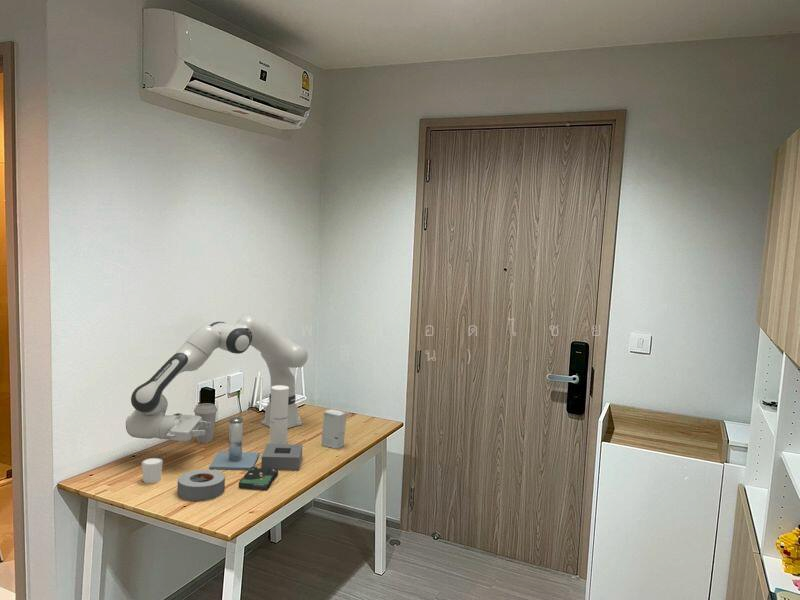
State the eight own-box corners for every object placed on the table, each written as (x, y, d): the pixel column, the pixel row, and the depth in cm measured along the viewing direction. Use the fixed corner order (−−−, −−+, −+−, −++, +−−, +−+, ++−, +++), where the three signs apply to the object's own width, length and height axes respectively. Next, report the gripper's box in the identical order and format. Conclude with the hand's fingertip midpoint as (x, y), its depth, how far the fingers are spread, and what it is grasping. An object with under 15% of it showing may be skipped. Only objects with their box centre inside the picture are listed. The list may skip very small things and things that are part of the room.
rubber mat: (218, 453, 238) (218, 451, 238) (259, 454, 239) (259, 452, 239) (209, 469, 222) (209, 466, 222) (252, 470, 223) (252, 467, 223)
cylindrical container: (282, 449, 246) (284, 390, 244) (266, 447, 248) (268, 388, 245) (289, 444, 253) (291, 386, 251) (273, 442, 255) (275, 384, 252)
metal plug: (229, 456, 233) (230, 416, 231) (242, 457, 233) (244, 417, 232) (227, 461, 228) (228, 420, 226) (240, 461, 228) (241, 421, 227)
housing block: (266, 455, 239) (267, 443, 238) (301, 456, 240) (302, 444, 239) (261, 469, 225) (261, 456, 224) (298, 470, 226) (299, 457, 225)
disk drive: (250, 473, 222) (238, 490, 207) (250, 466, 222) (238, 482, 207) (278, 475, 221) (267, 492, 207) (278, 468, 221) (268, 484, 206)
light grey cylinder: (146, 475, 213) (147, 457, 213) (165, 477, 213) (166, 458, 212) (137, 483, 206) (138, 464, 206) (157, 485, 206) (157, 465, 206)
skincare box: (321, 445, 254) (322, 411, 252) (328, 441, 259) (330, 408, 258) (337, 449, 250) (339, 415, 248) (345, 445, 255) (346, 411, 254)
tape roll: (199, 479, 213) (199, 465, 213) (234, 488, 208) (234, 474, 207) (167, 495, 199) (167, 480, 199) (203, 505, 193) (204, 490, 193)
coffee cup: (216, 436, 258) (217, 402, 257) (217, 443, 249) (217, 408, 248) (193, 437, 255) (193, 403, 254) (192, 445, 246) (193, 409, 245)
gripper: (162, 427, 216) (201, 429, 218) (178, 411, 237) (214, 413, 238) (162, 444, 217) (201, 445, 218) (178, 427, 237) (214, 428, 238)
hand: (208, 428), depth 228 cm, fingers open, 8 cm apart
